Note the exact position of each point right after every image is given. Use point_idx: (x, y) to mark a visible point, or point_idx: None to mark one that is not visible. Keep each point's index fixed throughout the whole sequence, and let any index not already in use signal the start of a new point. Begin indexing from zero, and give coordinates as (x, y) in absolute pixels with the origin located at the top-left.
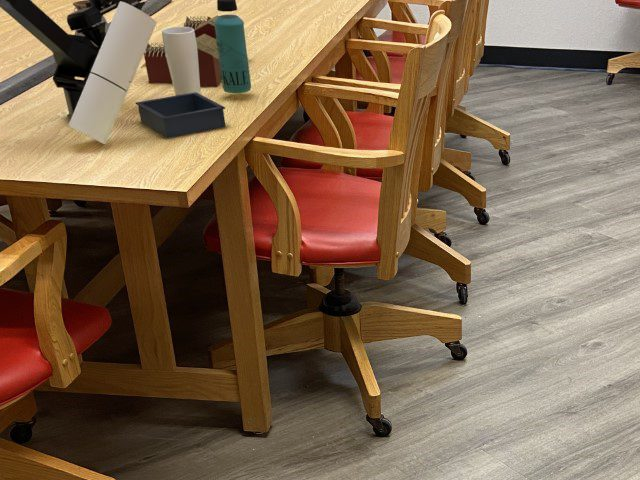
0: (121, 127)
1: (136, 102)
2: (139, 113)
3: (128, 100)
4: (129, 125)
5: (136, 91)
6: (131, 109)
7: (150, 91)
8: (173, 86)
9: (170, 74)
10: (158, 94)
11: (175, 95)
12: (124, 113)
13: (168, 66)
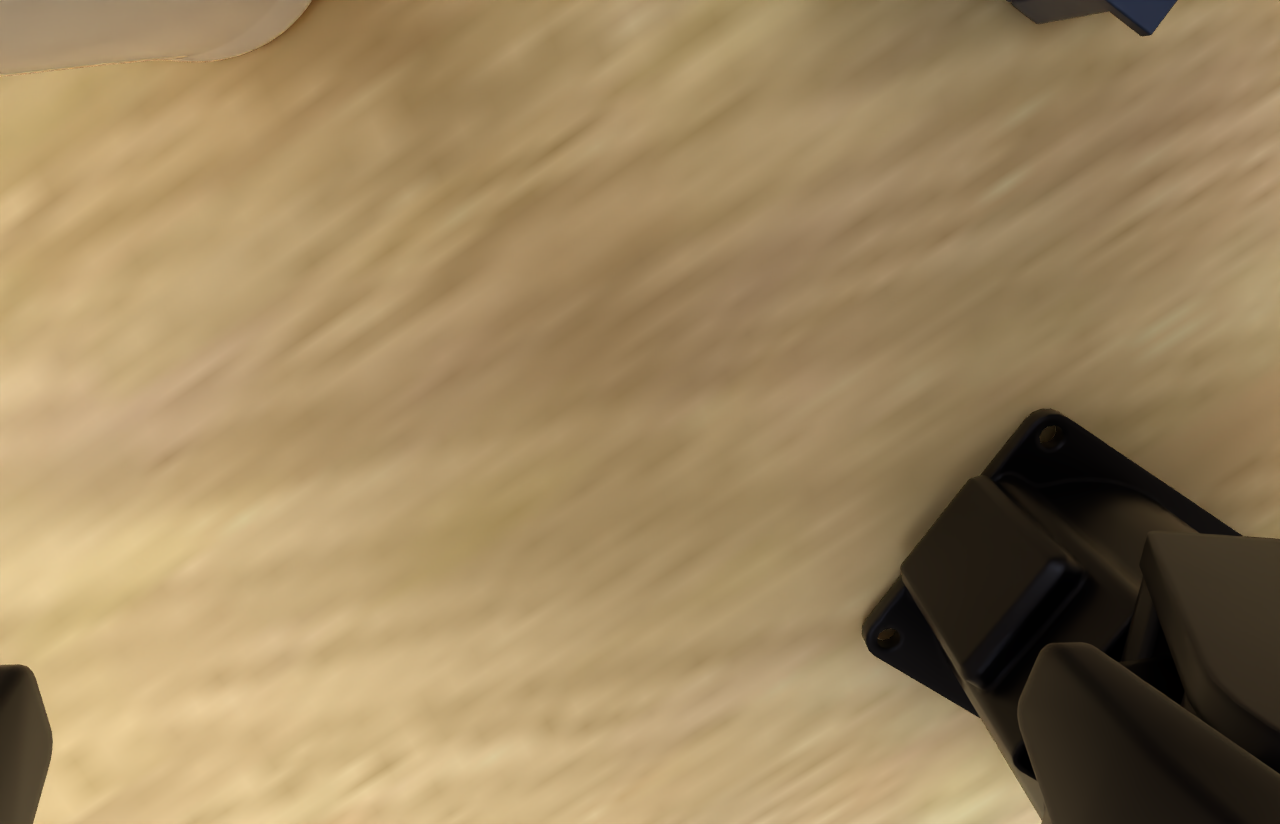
0: (1238, 127)
1: (1147, 19)
2: (1084, 13)
3: (396, 606)
4: (1156, 88)
5: (104, 711)
6: (647, 404)
7: (27, 597)
8: (233, 11)
9: (169, 10)
10: (68, 466)
11: (264, 22)
12: (793, 387)
13: (111, 8)
